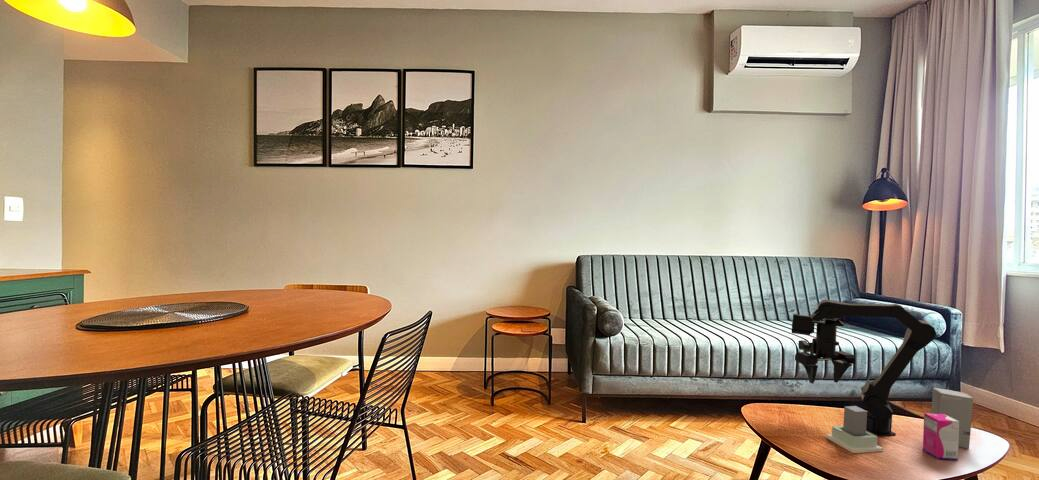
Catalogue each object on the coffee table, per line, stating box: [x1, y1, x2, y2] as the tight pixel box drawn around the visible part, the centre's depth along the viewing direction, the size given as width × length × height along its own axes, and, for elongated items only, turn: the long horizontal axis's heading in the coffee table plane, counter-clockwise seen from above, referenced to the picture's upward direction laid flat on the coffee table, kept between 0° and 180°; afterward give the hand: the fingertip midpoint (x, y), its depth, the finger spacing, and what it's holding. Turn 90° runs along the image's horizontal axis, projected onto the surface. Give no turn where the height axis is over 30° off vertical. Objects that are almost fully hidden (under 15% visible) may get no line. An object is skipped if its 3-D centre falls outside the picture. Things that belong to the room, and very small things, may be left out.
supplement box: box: [922, 412, 959, 461], centre depth 139 cm, size 6×6×12 cm
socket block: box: [825, 425, 884, 454], centre depth 145 cm, size 10×10×4 cm
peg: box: [842, 405, 868, 436], centre depth 145 cm, size 4×4×10 cm
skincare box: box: [930, 387, 974, 450], centre depth 148 cm, size 8×7×16 cm
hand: (823, 382), depth 162 cm, fingers open, 9 cm apart
